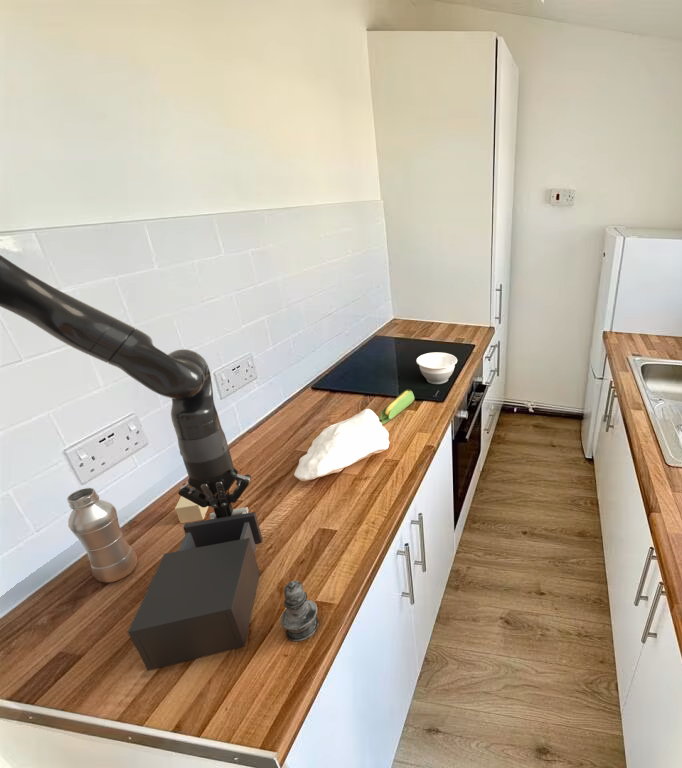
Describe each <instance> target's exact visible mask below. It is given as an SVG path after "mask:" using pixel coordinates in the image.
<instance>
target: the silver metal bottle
mask: <svg viewBox="0 0 682 768" xmlns="http://www.w3.org/2000/svg"><path fill="white" fill-rule="evenodd" d="M66 500H67V503H68V504H69V508H70V509H71V510H72V511H71V513H70V514H69V517H68V521H67V523H68V525H67V526H68V528H69V530H70V531H71V532H72V533H73V535H74V536H75V537H76V539H78V541H79V542H80V543H81V545H82V547H83V548H84V550H85V552H86V555H87V558H88V560H89V563H90V569H91V574H92V576H93V578H95V580H96V581H98V582H101V583H108V584H109V583H113V582H117V581H120V580H122V579H124V578H125V577H127V576H128V575H130V574H131V573H133V571H134V569H135V568H136V566H137V564H138V556H137V553H136V551H135V549H133V548H132V546H130V544H129V543H128V541H127V539H126V538H125V535H124V534H123V532H122V529H121V526H120V523H119V518H118V513H117V509H116V507H115V505H113V503H111V502H109V501H106V500H103V499H100V495H99V494H98V493H97V491H96V489H94V488H93V487H85V488H80V489H78V490H76V491H73V492H71V494H69V495H68V496H67V498H66Z"/></svg>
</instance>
